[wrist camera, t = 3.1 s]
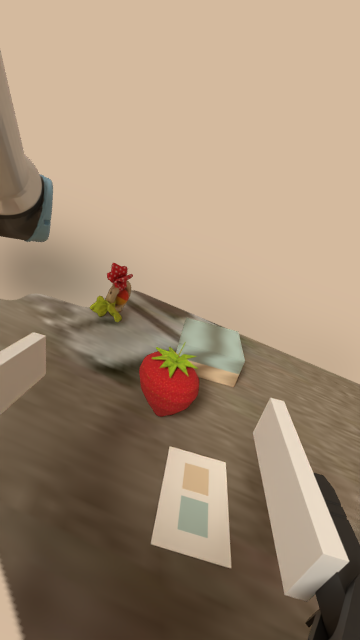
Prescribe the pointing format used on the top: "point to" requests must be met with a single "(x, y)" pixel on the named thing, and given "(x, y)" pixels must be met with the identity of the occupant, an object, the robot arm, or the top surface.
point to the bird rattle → (114, 293)
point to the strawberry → (168, 381)
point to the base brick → (212, 351)
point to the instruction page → (194, 508)
